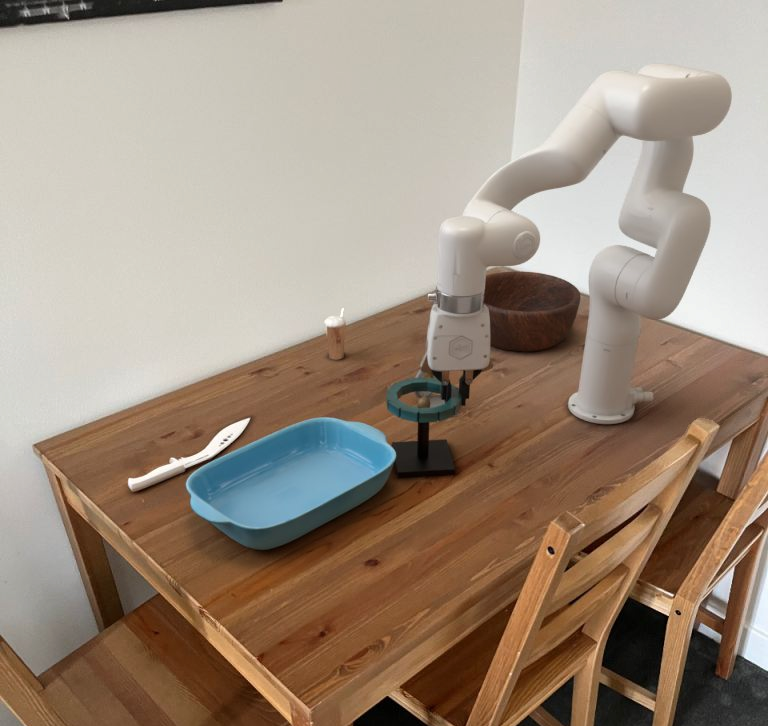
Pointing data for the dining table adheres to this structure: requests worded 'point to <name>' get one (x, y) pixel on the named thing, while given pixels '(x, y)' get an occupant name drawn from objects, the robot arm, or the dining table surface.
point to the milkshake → (335, 336)
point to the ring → (421, 413)
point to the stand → (423, 453)
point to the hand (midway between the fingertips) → (454, 401)
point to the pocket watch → (434, 399)
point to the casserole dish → (291, 481)
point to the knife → (189, 458)
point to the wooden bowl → (529, 309)
